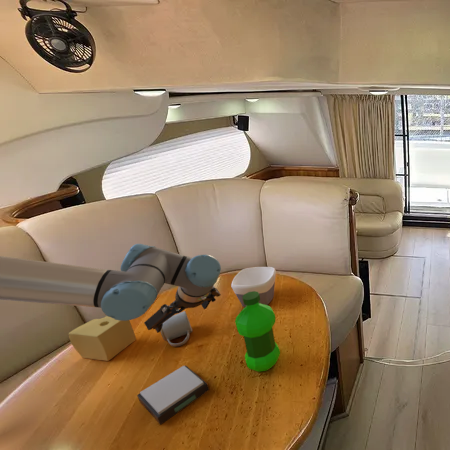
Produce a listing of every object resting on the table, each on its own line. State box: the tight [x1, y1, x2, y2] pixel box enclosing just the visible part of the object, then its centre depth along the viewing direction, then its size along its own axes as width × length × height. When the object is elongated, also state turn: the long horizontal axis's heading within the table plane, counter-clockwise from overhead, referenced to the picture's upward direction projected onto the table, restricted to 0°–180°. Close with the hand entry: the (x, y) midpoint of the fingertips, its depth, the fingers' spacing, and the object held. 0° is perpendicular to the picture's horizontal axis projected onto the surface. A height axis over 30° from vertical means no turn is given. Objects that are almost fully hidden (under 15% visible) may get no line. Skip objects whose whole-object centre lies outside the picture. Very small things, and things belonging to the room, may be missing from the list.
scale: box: [136, 365, 210, 426], centre depth 84 cm, size 12×12×3 cm
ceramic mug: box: [159, 310, 193, 347], centre depth 105 cm, size 11×8×8 cm
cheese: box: [68, 315, 137, 362], centre depth 99 cm, size 10×11×10 cm
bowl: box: [230, 266, 277, 308], centre depth 125 cm, size 15×15×11 cm
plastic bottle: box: [234, 291, 281, 373], centre depth 91 cm, size 10×10×25 cm
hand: (181, 316), depth 99 cm, fingers open, 13 cm apart
